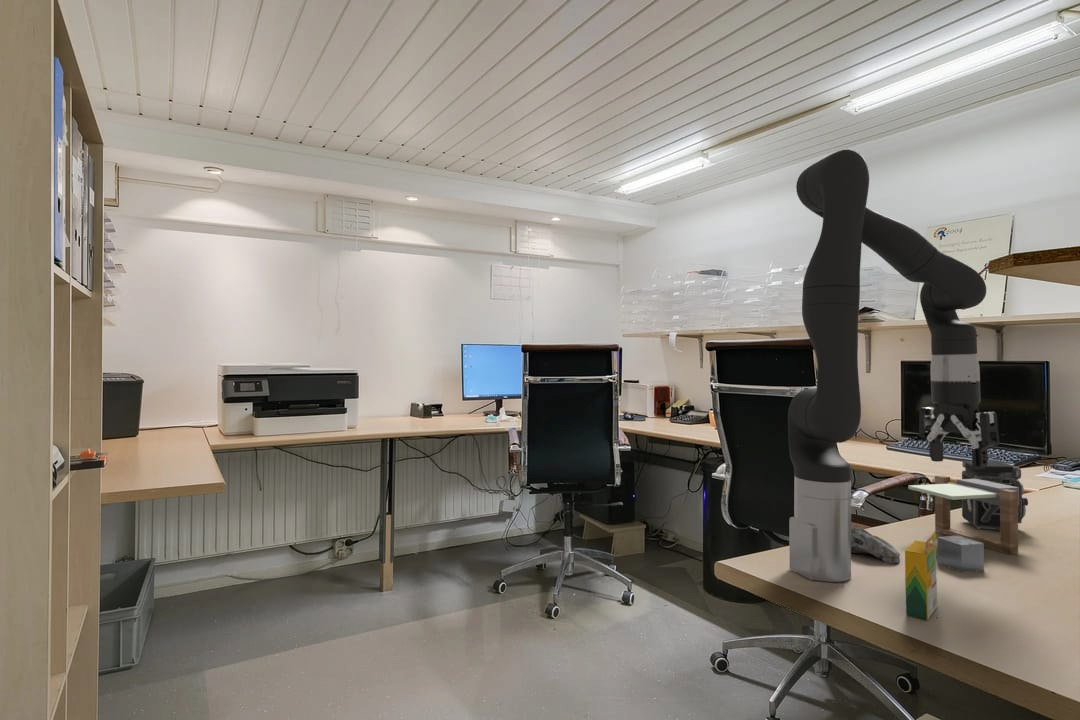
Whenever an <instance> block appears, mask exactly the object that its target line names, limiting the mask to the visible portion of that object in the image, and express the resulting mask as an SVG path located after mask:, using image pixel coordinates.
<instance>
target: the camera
mask: <svg viewBox="0 0 1080 720" xmlns="http://www.w3.org/2000/svg"><path fill="white" fill-rule="evenodd" d="M987 461H988V464H987V466H986V468H985V469H973V467H972V460H963V461H962V467H963V468H964V469H965V470H962V471H961V479H980V480H985V481H990V482H995V483H1000V484H1004V485H1009V486H1014V487H1019V505H1018V524H1022V520H1023V518H1025V516H1026V514H1027V509H1026V506H1028V505H1029V500H1028V498H1027V497H1023V495H1024V491H1025V490H1024V484H1022V482H1021V481H1020V479H1021V478H1022V469H1021V468H1020V467H1018V466H1016V465H1012V464H1010V463H1007V462H1001V461H999V460H998V461H997V460H987ZM961 516H962V518H963V519H964V520H966V521H967V523H968V524H972V525H973V526H974V527H975V528H976V529H977V530H979V529H980V530H981V529H987V530H999V531H1000V506H998V505H994V504H990V503H985V502H981V501H977V500H973V499H961Z"/></svg>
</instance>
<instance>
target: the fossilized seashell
mask: <svg viewBox="0 0 1080 720" xmlns="http://www.w3.org/2000/svg"><path fill="white" fill-rule="evenodd" d="M852 553H854V554H860V553H861V555H862V554H863V555H864V554H865V555H866V554H869V555H872V556H874V557H875V558H878V559H880V560H882V561H883V563H886V564H900V562H901V560H900V556H901V554H900V552H899V551H898V550H897V549H896V548H895V547H894V546H893V545H892V544H891V543H889V542H888V541H886V540H884V539H882V538H881V537H878V536H877V535H874V534H872V533H870V532H869V531H868V530H866V529H865V528H863V527H861V526H859V525H854V527H853V526H851V554H852Z"/></svg>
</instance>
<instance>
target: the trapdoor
mask: <svg viewBox="0 0 1080 720" xmlns="http://www.w3.org/2000/svg"><path fill="white" fill-rule="evenodd" d="M907 489H908V490H912V491H916V492H919V493H924V494H927V495H931V496H934V497H935V496H939V497H943V498H947V499H950V501H951V500H953V501H954V500H955V501H956V500H957V501H958V500H962V499H973V500H977V501H981V502H985V503H990V504H994V505H998V506H1000V490H1003V489H1009V490H1014V491H1018V505H1019V487H1014V486H1009V485H1004V484H1000V483H995V482H990V481H985V480H980V479H962V478H961V479H960V478H959V479H956V483H954V482H951V481H950V482H946V484H935V483H934V484H932V483H931V484H913V485H911V484H910V485H908V486H907Z"/></svg>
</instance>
